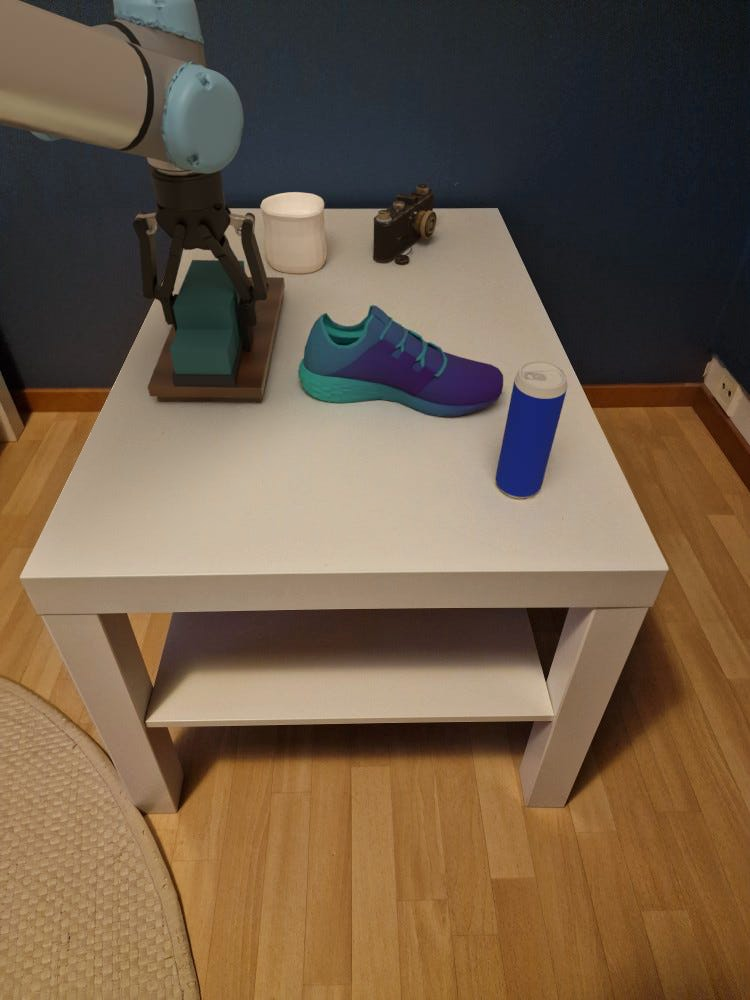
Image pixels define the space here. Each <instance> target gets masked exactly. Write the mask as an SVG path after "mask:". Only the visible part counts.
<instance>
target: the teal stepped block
mask: <svg viewBox="0 0 750 1000" xmlns="http://www.w3.org/2000/svg"><path fill="white" fill-rule="evenodd" d="M238 261H239V263H240V264H241V266H242V268H243V269H244V271H245V272H246V268H245V261H244V260H238ZM177 294H178V296H177V298H176V301H175V303H174V306H173V309H174V314H175V319H176V323H177V331H176V334H175V336H174V339H173V341H172V344H171V347H170V354H171V358H172V362H173V366H174V372H173V374H172V379H173V383H174V386H195V387H235V385H236V381H237V377H238V373H239V369H240V365H241V361H242V357H243V353H244V342H243V335H242V329H241V322H240V315H239V308H238V305H239V302H240V298H241V297H240V295H239V293H238V292H237V290H236V288H235V287H234V285H233V283H232V282H231V280H230V278H229V277H228V275H227V273H226V272H225V270H224V268H223V267H222V265H221V264H220V262H219V260H218V259H192V260H191V262H190V264H189V266H188V269H187V272H186V274H185V277H184V278H183V282H182V285H181V286H180V288H179V291H178V293H177Z"/></svg>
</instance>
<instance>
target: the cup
mask: <svg viewBox="0 0 750 1000" xmlns="http://www.w3.org/2000/svg"><path fill="white" fill-rule="evenodd" d="M260 203H261V204H260V205H259V207H260V210H261V214H262V221H263V244H264V253H265V257H266V260H267V262H268V264H269V266H271V268H272V269H274V270H275V271H277V272H281V273H285V274H291V275H292V274H294V275H295V274H296V275H303V274H311V273H314V272H317V271H318V270H320V269H321V268H322V267H323V266H324V265H325V264H326V260H327V253H328V247H327V234H326V227H325V210H324V209H325V201H324V199H323V198H322V197H321V196H319V195H317V194H315V193H309V192H302V191H301V192H299V191H293V192H291V191H290V192H283V193H277V194H273V195H270V196H268V197H266V198H264V199H262V201H261V202H260Z"/></svg>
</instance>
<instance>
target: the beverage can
mask: <svg viewBox="0 0 750 1000" xmlns="http://www.w3.org/2000/svg"><path fill="white" fill-rule="evenodd" d="M567 391H568V379H567V374H566V371H564V370H563V368H561V367H560V366H558V365H556V364H554V363H552V362H548V361H544V360H534V361H529V362H526V363H524V364H523V365H522V366H521V367H520V368H519V369H518V371H517V372H516V374H515V376H514V380H513V385H512V390H511V396H510V400H509V406H508V411H507V415H506V421H505V426H504V430H503V431H504V432H503V436H502V441H501V447H500V453H499V457H498V462H497V466H496V471H495V472H496V473H495V477H494V478H495V484H496V485H497V487H498V488H499V490H500V491H501V492H502V493H503V494H505V495H507V496H509V497H511V498H513V499H528V498H530V497H532V496H534V495H536V494H537V493H539V491H540V490H541V488H542V485H543V482H544V478H545V475H546V470H547V467H548V462H549V460H550V455H551V452H552V447H553V444H554V440H555V436H556V433H557V430H558V425H559V422H560V417H561V414H562V410H563V406H564V403H565V400H566V399H565V398H566V394H567Z"/></svg>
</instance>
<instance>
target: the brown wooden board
mask: <svg viewBox="0 0 750 1000" xmlns="http://www.w3.org/2000/svg"><path fill="white" fill-rule="evenodd" d="M248 278H249V280H250V281H251V283H252V285H253V287H254V283H253V280H252V277H251V276H248ZM267 279H268V283H269V291H268V296H267V299H266V300H258V301H256V303H257V311H258V319H257V323H256V326H252V334H253V343H252V347H251V351H245V349H244V353H243V357H242V361H241V365H240V369H239V373H238V377H237V381H236V385H235V387H195V386H174V383H173V379H172V374H173V372H174V366H173V362H172V358H171V354H170V347H171V344H172V341H173V339H174V336H175V334H176V332H175V328H174V325H171V327H170V329H169V331H168V335H167V337H166V339H165V342H164V344H163V347H162V348H161V349H162V350H161V351H160V355H159V357H158V359H157V362H156V364H155V367H154V368H153V372H152V375H151V377H150V379H149V382H148V384H147V390H148V393H149V397H157V401H158V402H187V403H189V402H190V403H192V402H193V403H194V402H196V403H197V402H198V403H257V404H258V403H259V404H260V403H261V402H262V399H263V398H264V397H263V396H264V392H265V387H266V382H267V377H268V372H269V367H270V361H271V356H272V352H273V346H274V342H275V337H276V332H277V326H278V321H279V317H280V312H281V307H282V303H283V302H282V301H283V297H284V291H285V286H286V285H285V284H286V283H285V277H282V276H281V277H280V276H279V277H277V276H275V277H273V276H267Z"/></svg>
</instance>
